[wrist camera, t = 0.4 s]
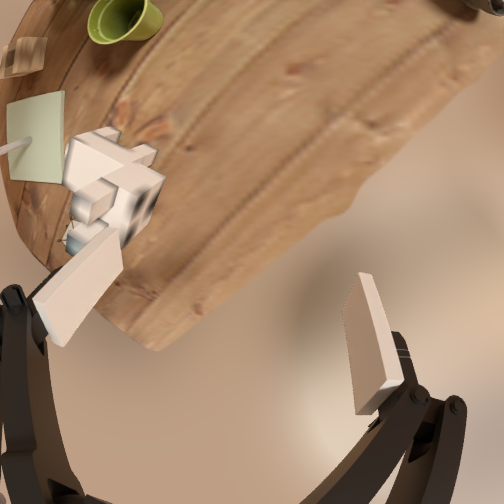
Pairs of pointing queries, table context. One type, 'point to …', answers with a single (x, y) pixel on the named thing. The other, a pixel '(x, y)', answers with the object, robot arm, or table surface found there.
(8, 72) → the bead
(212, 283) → the table surface
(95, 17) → the plant pot
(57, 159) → the stand
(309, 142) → the table surface
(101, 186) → the toy llama
